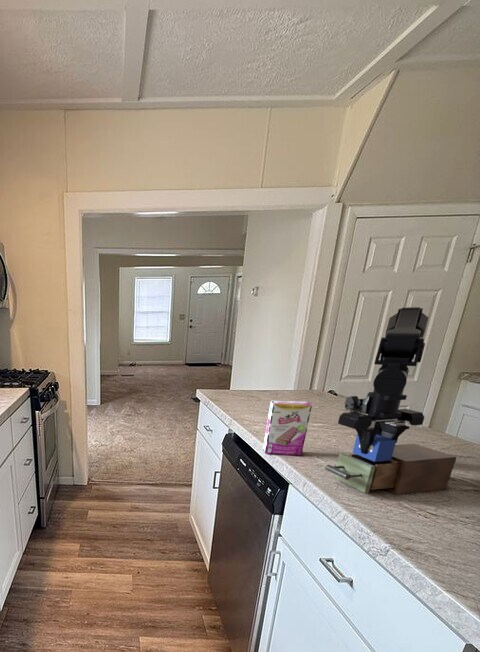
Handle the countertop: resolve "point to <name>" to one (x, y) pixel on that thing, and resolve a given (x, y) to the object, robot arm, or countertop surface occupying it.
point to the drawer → (365, 472)
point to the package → (377, 449)
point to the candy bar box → (286, 427)
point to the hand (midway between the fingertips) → (372, 452)
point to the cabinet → (421, 469)
